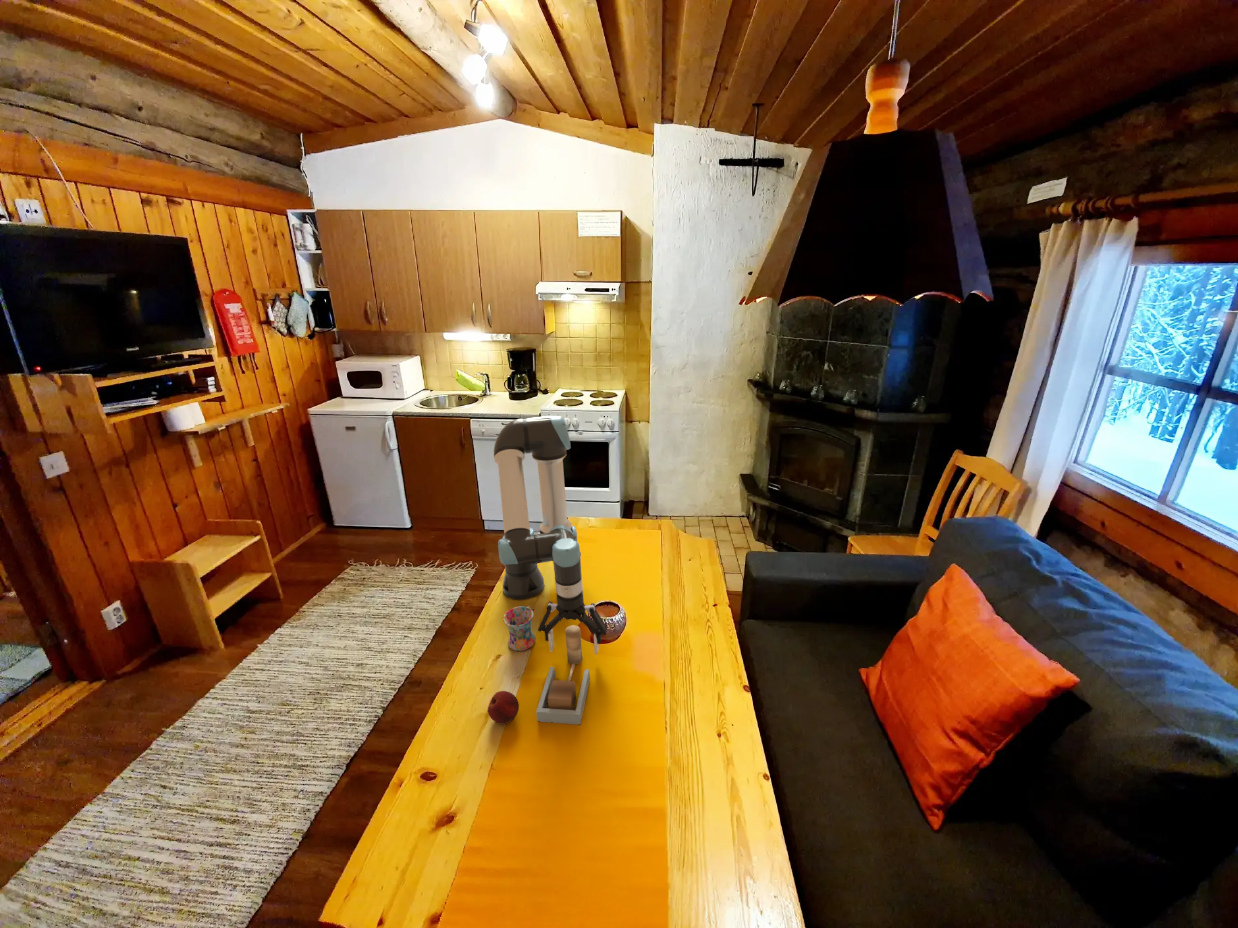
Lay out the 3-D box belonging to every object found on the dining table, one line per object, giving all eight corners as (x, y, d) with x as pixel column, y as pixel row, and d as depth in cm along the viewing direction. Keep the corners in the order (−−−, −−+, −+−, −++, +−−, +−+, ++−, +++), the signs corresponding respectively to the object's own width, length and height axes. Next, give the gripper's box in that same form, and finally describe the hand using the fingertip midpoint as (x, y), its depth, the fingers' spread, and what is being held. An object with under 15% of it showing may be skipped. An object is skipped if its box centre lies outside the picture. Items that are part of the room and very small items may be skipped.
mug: (528, 656, 148) (524, 628, 144) (501, 650, 151) (497, 622, 147) (545, 630, 159) (542, 603, 155) (520, 624, 162) (516, 598, 158)
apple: (494, 705, 132) (491, 683, 129) (523, 705, 131) (520, 683, 128) (487, 729, 125) (482, 706, 122) (516, 729, 125) (513, 706, 122)
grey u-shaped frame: (551, 676, 141) (550, 666, 139) (589, 678, 139) (589, 669, 138) (537, 721, 127) (536, 711, 125) (580, 724, 125) (579, 714, 124)
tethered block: (566, 653, 149) (564, 624, 145) (586, 654, 148) (584, 625, 144) (549, 714, 128) (546, 683, 124) (571, 716, 128) (569, 685, 124)
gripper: (522, 597, 135) (530, 656, 143) (611, 601, 132) (614, 661, 140) (530, 581, 142) (537, 638, 150) (614, 584, 139) (616, 642, 147)
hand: (574, 649), depth 145 cm, fingers open, 13 cm apart
